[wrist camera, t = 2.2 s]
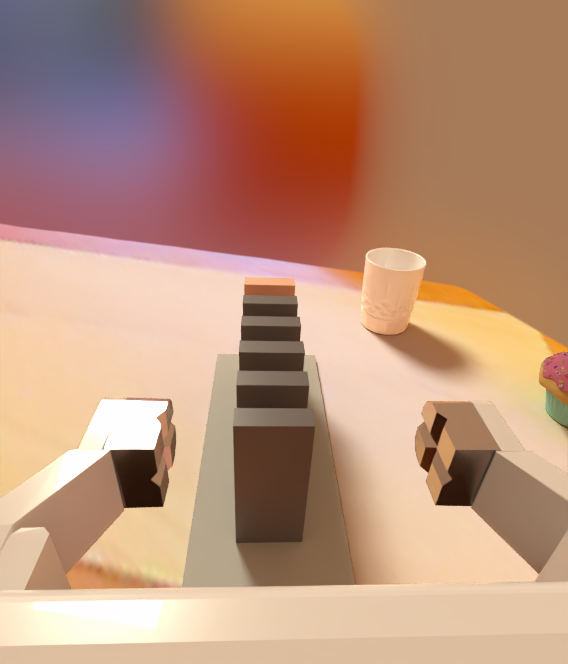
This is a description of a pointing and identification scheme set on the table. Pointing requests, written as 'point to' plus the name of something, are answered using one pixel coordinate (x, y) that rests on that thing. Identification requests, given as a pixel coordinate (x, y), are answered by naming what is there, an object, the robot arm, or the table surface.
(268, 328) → the domino
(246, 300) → the domino
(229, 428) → the felt strip
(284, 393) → the domino
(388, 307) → the white cup
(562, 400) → the cupcake
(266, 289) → the domino
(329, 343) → the table surface
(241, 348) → the domino
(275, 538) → the domino
